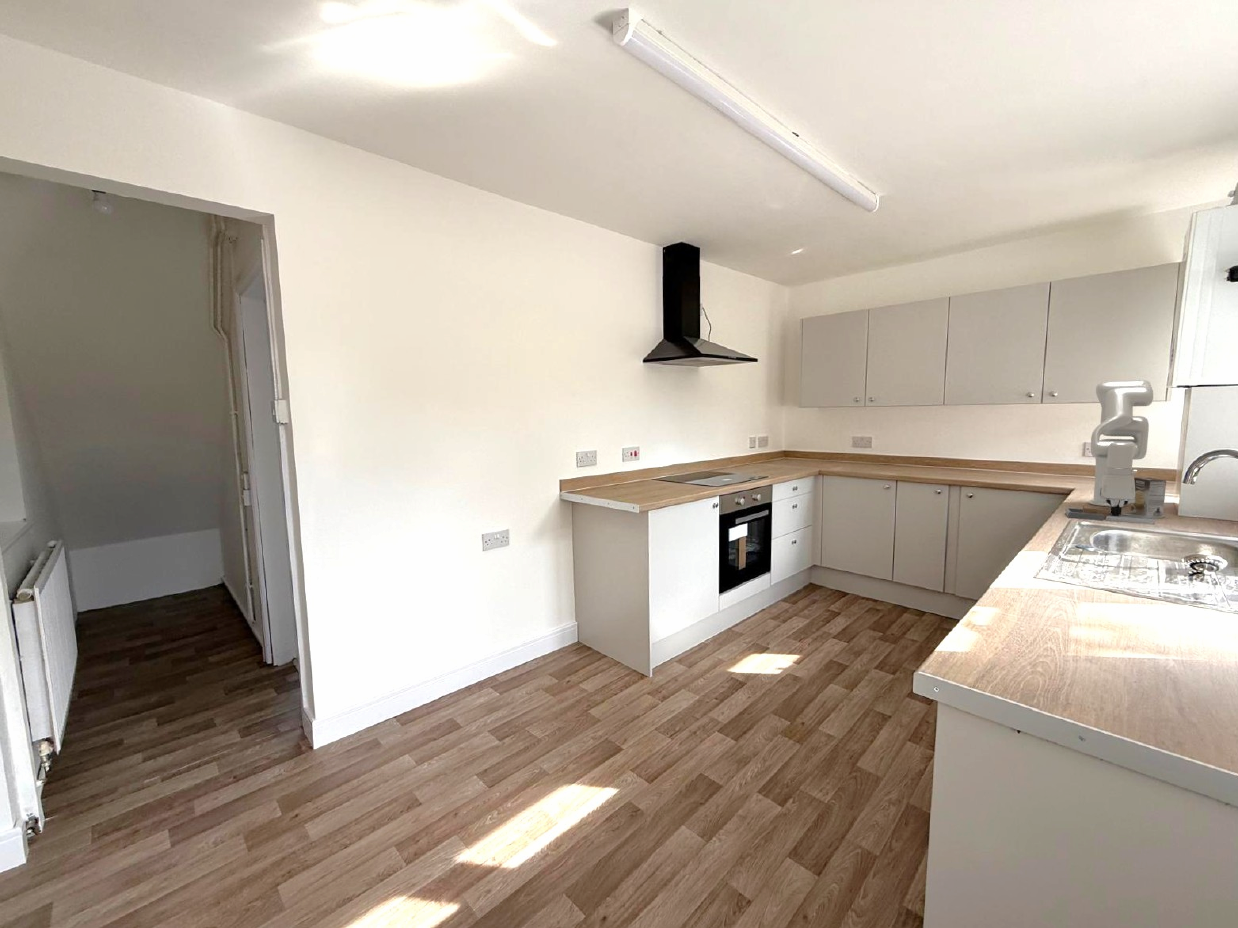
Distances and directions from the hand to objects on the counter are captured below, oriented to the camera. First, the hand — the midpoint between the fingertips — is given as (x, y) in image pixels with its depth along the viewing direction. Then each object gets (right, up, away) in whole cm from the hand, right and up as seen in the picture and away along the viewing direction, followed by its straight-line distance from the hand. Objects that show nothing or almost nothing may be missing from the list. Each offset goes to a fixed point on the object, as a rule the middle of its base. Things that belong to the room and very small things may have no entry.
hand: (1115, 515), depth 210 cm
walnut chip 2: (-3, -1, +3) cm, 4 cm away
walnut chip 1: (-6, -1, +5) cm, 8 cm away
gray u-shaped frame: (-7, -1, +6) cm, 10 cm away
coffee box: (+18, -1, +5) cm, 19 cm away
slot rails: (+3, -2, -2) cm, 4 cm away
